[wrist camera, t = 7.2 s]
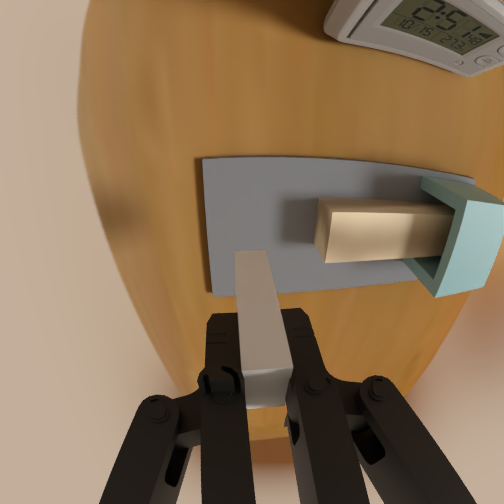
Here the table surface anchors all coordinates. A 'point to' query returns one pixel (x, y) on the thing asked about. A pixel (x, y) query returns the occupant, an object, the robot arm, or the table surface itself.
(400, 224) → the slat
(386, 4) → the digital clock
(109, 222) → the table surface
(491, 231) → the end cap
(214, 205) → the mat
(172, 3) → the table surface
